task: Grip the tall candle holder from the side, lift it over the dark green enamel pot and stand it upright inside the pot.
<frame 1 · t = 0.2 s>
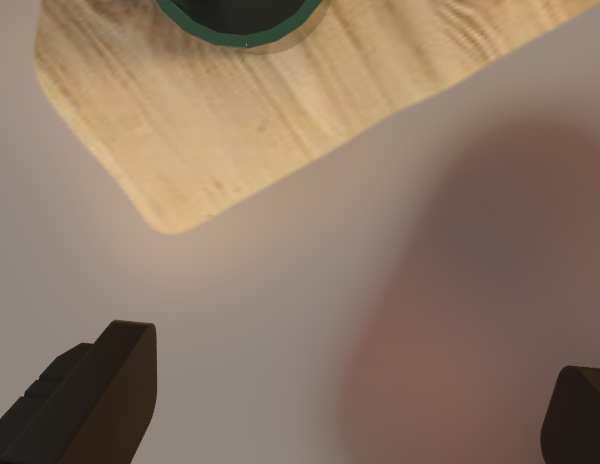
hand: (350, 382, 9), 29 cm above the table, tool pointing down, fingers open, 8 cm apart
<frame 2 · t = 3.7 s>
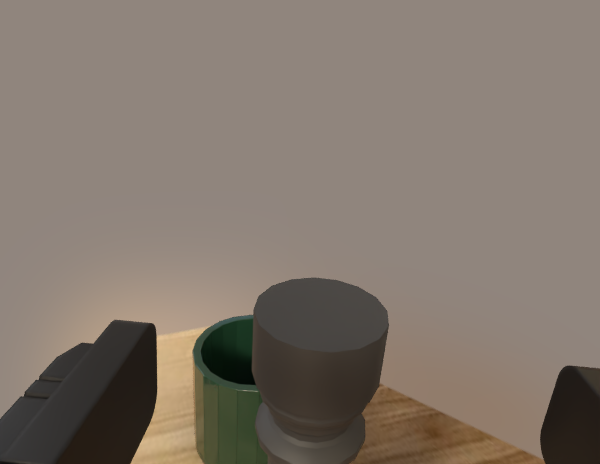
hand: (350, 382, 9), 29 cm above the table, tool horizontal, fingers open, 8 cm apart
pot: (251, 434, 45), on the table
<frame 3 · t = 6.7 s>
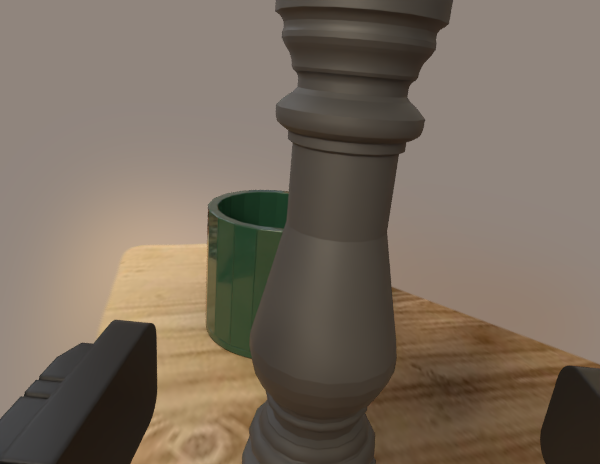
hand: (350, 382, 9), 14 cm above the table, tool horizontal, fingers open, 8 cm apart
pot: (270, 323, 39), on the table
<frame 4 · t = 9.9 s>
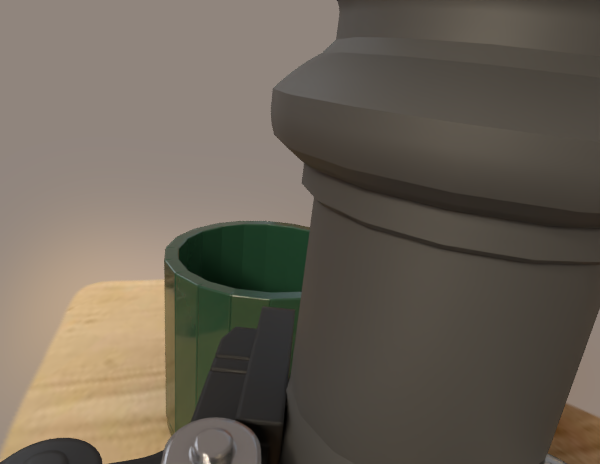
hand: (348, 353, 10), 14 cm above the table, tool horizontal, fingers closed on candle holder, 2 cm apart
pot: (258, 406, 28), on the table
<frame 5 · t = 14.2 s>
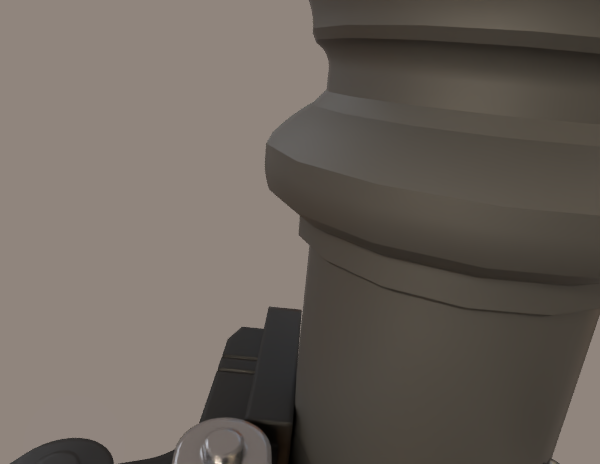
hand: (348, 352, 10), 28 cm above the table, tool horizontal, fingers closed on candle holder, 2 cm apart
when the fingers open (15 cm above the table, at t = 18.4 s): candle holder stays where it is, resting on pot.
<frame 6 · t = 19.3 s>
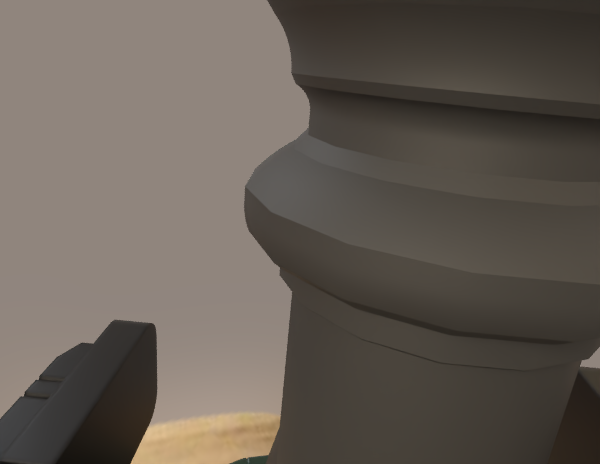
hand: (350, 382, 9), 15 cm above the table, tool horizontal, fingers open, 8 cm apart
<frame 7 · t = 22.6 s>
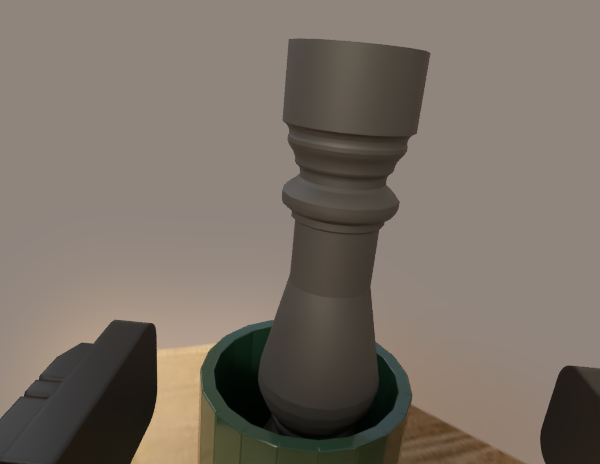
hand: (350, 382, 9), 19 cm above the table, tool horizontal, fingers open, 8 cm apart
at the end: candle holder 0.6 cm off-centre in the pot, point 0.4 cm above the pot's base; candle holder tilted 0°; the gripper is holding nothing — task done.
